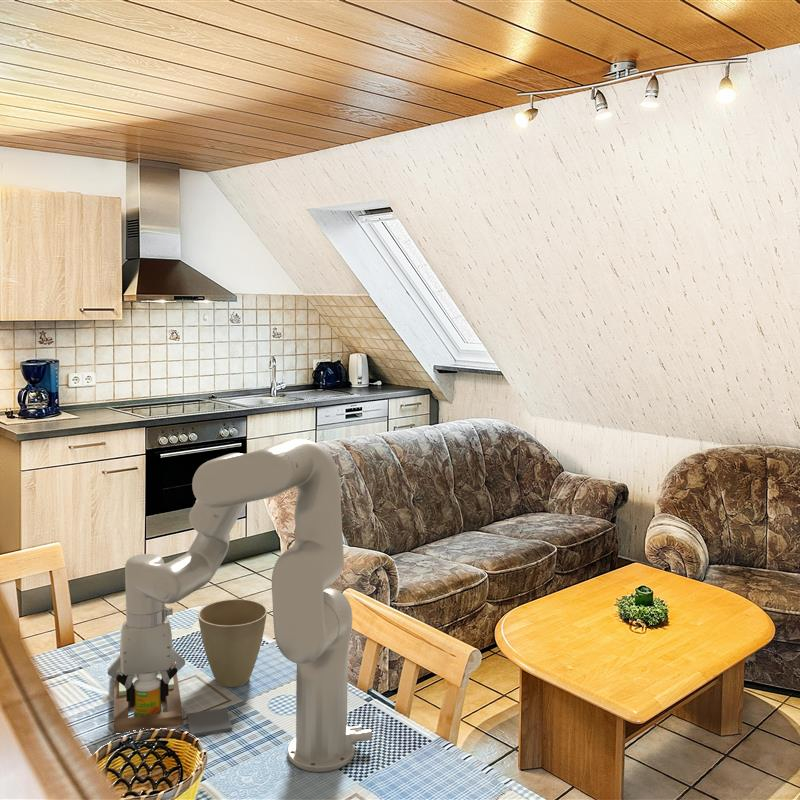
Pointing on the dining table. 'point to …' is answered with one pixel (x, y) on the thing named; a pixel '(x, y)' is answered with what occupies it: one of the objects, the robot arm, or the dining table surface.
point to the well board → (147, 721)
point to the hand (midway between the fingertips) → (147, 700)
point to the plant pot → (232, 638)
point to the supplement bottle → (147, 694)
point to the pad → (209, 722)
